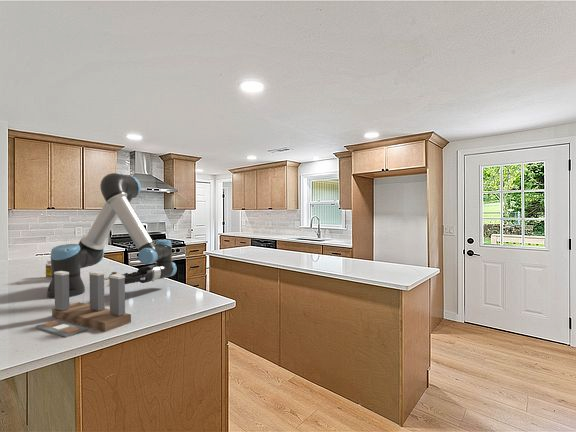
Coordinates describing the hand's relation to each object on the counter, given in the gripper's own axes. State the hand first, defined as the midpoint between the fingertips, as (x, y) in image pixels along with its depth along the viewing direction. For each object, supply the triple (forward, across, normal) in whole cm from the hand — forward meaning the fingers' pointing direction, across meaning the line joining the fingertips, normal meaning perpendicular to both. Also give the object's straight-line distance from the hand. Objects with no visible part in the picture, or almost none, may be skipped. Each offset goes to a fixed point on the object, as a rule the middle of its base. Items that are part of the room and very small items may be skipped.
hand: (101, 284), depth 137 cm
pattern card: (+22, -10, -10) cm, 26 cm away
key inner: (+15, +2, -6) cm, 16 cm away
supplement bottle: (-21, +79, -10) cm, 82 cm away
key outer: (+9, -22, -6) cm, 25 cm away
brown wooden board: (+12, -10, -10) cm, 18 cm away
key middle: (+9, -10, -6) cm, 15 cm away
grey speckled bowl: (-36, +42, -10) cm, 56 cm away
